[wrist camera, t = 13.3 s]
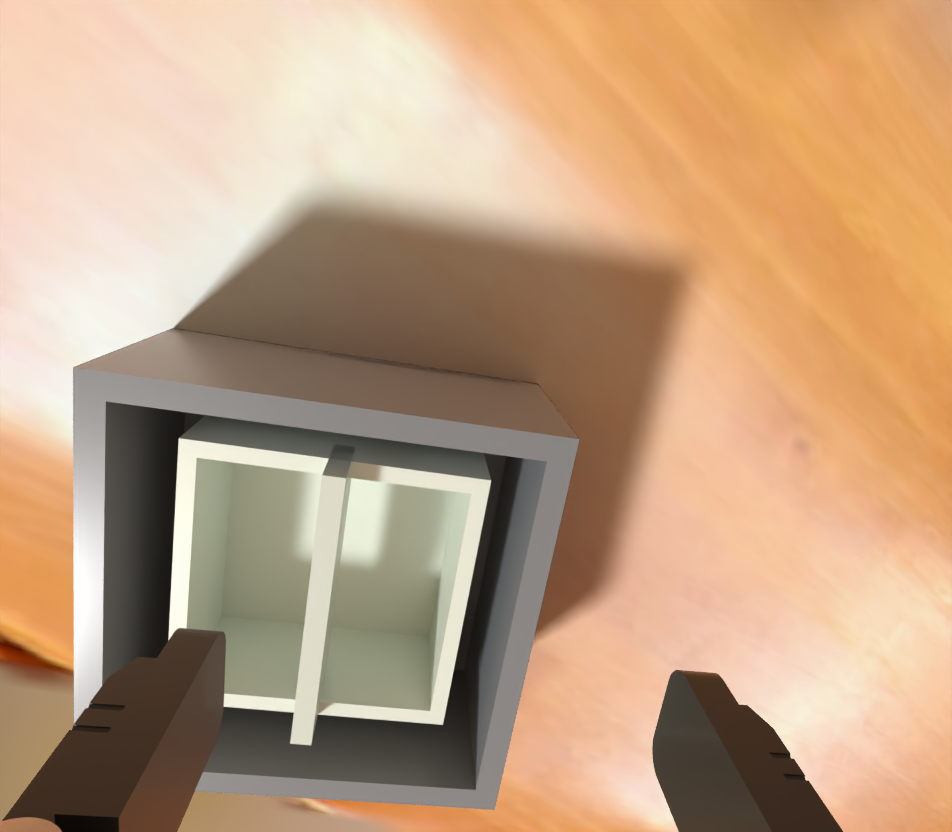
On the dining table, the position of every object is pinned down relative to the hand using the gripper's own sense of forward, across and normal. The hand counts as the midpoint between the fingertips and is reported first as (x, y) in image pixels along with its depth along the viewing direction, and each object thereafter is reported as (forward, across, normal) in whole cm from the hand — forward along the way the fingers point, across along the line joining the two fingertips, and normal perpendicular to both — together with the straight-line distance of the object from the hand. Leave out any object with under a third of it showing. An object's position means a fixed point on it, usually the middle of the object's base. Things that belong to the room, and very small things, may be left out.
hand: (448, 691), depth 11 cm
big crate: (+25, +5, +10) cm, 28 cm away
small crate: (+24, +5, +10) cm, 27 cm away
